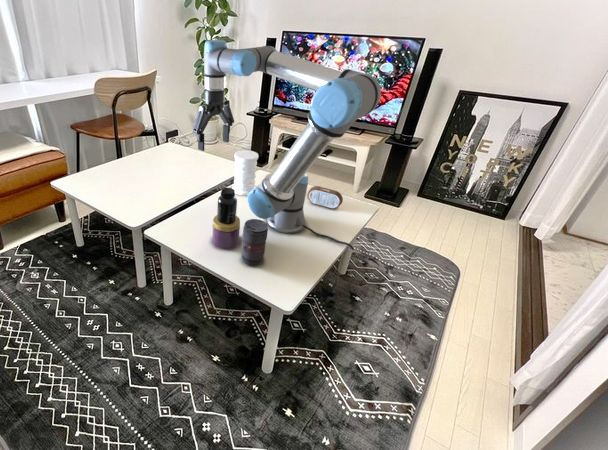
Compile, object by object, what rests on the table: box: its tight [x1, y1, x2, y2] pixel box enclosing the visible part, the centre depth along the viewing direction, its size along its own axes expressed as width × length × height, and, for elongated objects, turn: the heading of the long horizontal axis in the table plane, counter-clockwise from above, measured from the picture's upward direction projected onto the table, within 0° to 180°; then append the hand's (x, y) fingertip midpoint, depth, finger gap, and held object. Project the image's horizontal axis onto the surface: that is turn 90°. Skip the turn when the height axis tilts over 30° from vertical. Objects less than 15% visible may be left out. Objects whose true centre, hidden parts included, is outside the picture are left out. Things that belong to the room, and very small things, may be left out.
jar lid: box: [212, 214, 241, 232], centre depth 125 cm, size 10×10×2 cm
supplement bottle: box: [216, 187, 238, 224], centre depth 121 cm, size 7×7×12 cm
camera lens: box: [241, 218, 269, 267], centre depth 116 cm, size 8×8×15 cm
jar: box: [212, 225, 241, 250], centre depth 127 cm, size 10×10×9 cm
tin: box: [306, 185, 344, 210], centre depth 150 cm, size 15×3×8 cm, turn 58°
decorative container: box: [231, 149, 260, 196], centre depth 160 cm, size 12×12×18 cm
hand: (213, 145), depth 134 cm, fingers open, 13 cm apart
